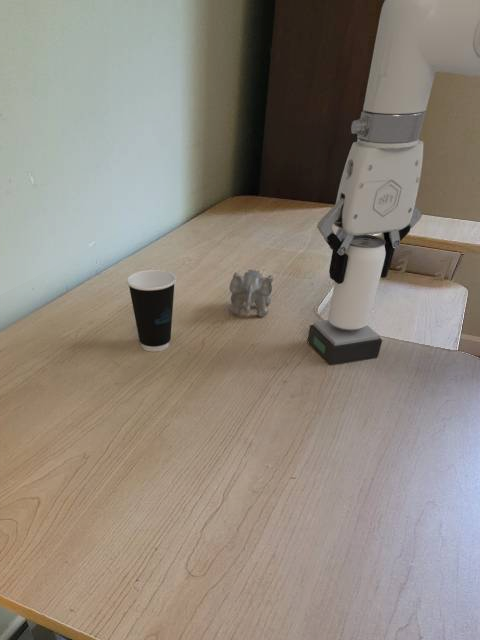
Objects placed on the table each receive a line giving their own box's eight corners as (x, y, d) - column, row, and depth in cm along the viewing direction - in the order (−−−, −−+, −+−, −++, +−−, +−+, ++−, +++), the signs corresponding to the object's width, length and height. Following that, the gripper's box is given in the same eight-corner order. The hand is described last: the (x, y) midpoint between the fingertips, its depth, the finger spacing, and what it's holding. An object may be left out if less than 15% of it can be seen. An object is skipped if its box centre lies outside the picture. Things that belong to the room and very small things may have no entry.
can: (324, 328, 82) (339, 245, 74) (330, 312, 86) (345, 232, 78) (366, 333, 81) (387, 249, 72) (370, 316, 85) (390, 235, 76)
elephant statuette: (266, 301, 101) (270, 259, 96) (284, 327, 93) (290, 283, 88) (220, 305, 101) (221, 263, 95) (234, 332, 92) (236, 287, 87)
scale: (352, 335, 90) (357, 314, 88) (377, 357, 85) (383, 336, 82) (306, 342, 89) (309, 321, 86) (329, 365, 83) (333, 344, 81)
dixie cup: (138, 333, 93) (133, 268, 85) (181, 336, 92) (180, 270, 84) (127, 354, 88) (120, 286, 80) (172, 357, 86) (170, 289, 78)
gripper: (341, 139, 62) (316, 294, 75) (468, 128, 64) (422, 279, 77) (314, 129, 67) (294, 276, 80) (432, 119, 69) (395, 262, 82)
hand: (357, 276), depth 78 cm, fingers closed on can, 6 cm apart
